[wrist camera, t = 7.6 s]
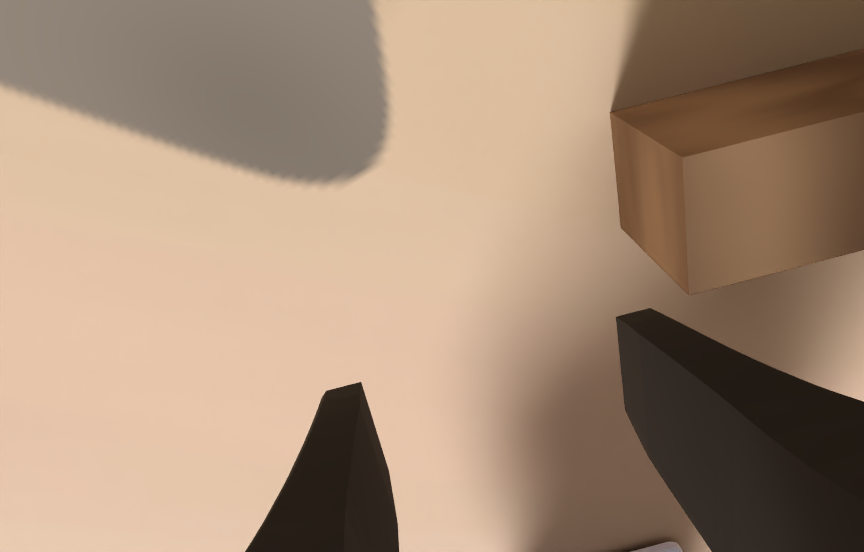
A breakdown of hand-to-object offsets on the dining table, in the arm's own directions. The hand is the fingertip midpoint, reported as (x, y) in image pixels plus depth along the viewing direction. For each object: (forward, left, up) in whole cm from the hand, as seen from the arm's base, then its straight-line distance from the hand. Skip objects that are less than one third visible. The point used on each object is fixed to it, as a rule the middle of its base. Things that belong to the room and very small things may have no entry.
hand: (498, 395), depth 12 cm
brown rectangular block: (0, -10, -9) cm, 13 cm away
